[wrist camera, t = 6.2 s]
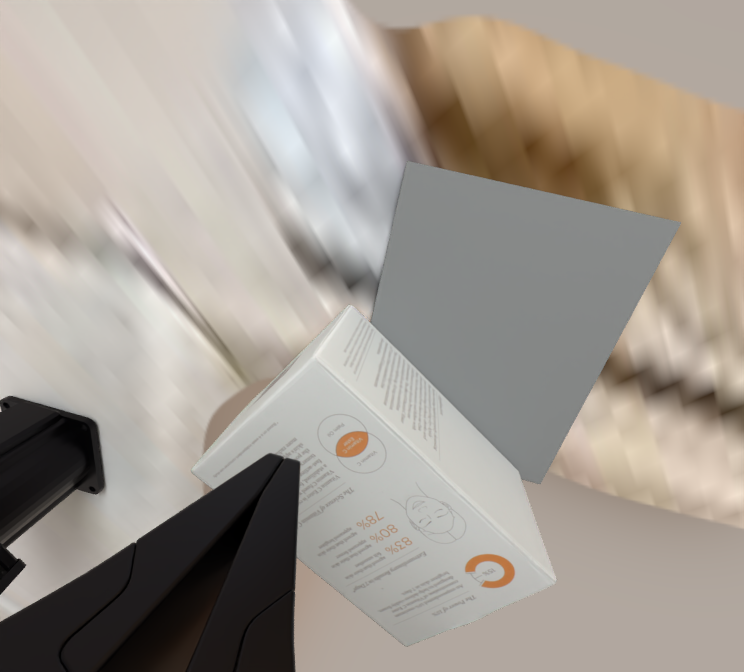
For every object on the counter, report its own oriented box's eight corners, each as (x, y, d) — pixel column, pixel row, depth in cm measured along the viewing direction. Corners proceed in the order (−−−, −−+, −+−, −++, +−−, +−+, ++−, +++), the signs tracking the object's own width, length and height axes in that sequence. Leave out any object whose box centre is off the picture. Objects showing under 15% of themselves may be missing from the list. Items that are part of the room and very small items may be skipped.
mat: (537, 477, 20) (540, 484, 19) (348, 426, 20) (346, 431, 20) (673, 221, 14) (681, 222, 14) (407, 161, 15) (407, 160, 14)
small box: (255, 392, 20) (411, 533, 22) (184, 472, 14) (404, 654, 16) (354, 299, 17) (522, 471, 19) (315, 351, 11) (562, 590, 13)
